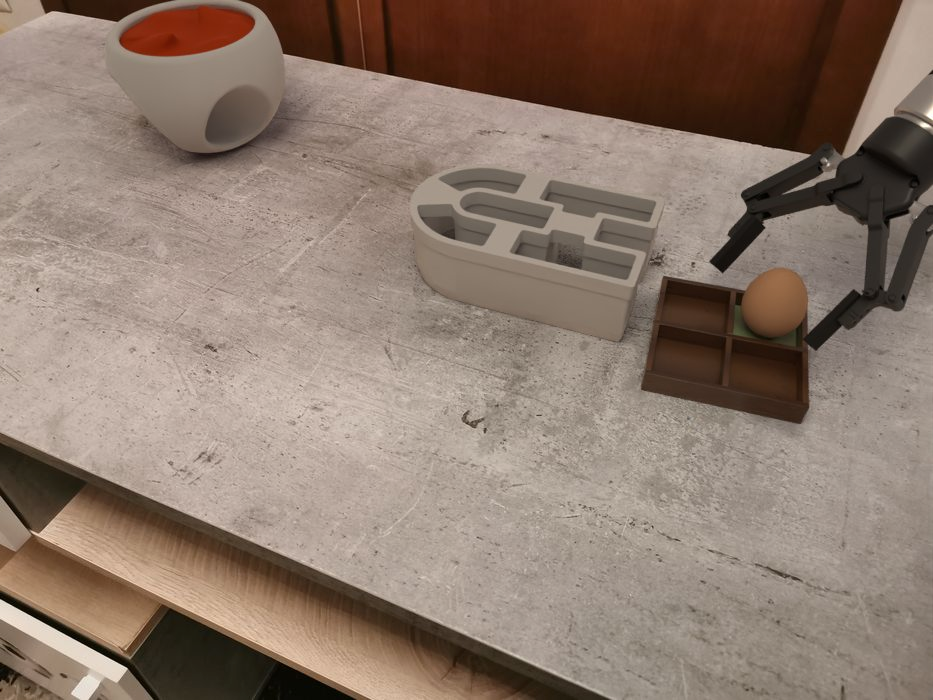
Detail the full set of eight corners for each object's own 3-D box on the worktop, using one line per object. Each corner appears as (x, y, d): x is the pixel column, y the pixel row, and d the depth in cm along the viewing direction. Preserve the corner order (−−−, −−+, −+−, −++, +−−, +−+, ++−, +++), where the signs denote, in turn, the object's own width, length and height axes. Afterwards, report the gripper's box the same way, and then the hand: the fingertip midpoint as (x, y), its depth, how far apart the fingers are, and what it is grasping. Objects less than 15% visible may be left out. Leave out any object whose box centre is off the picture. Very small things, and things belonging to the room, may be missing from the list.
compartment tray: (800, 424, 72) (809, 407, 70) (640, 389, 75) (644, 373, 74) (800, 318, 82) (807, 301, 81) (659, 292, 86) (663, 275, 84)
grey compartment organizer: (622, 347, 80) (633, 287, 73) (391, 287, 87) (384, 228, 81) (653, 257, 90) (666, 198, 84) (445, 210, 98) (443, 153, 91)
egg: (726, 339, 79) (746, 281, 73) (741, 303, 83) (761, 246, 77) (787, 359, 77) (813, 301, 71) (799, 321, 81) (825, 264, 75)
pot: (315, 102, 119) (295, -12, 106) (270, 185, 103) (240, 61, 90) (175, 96, 121) (139, -17, 108) (109, 176, 105) (58, 54, 92)
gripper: (1049, 220, 65) (864, 391, 71) (831, 102, 80) (695, 251, 86) (1044, 185, 59) (844, 374, 65) (812, 65, 74) (668, 227, 81)
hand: (759, 304), depth 76 cm, fingers open, 13 cm apart
